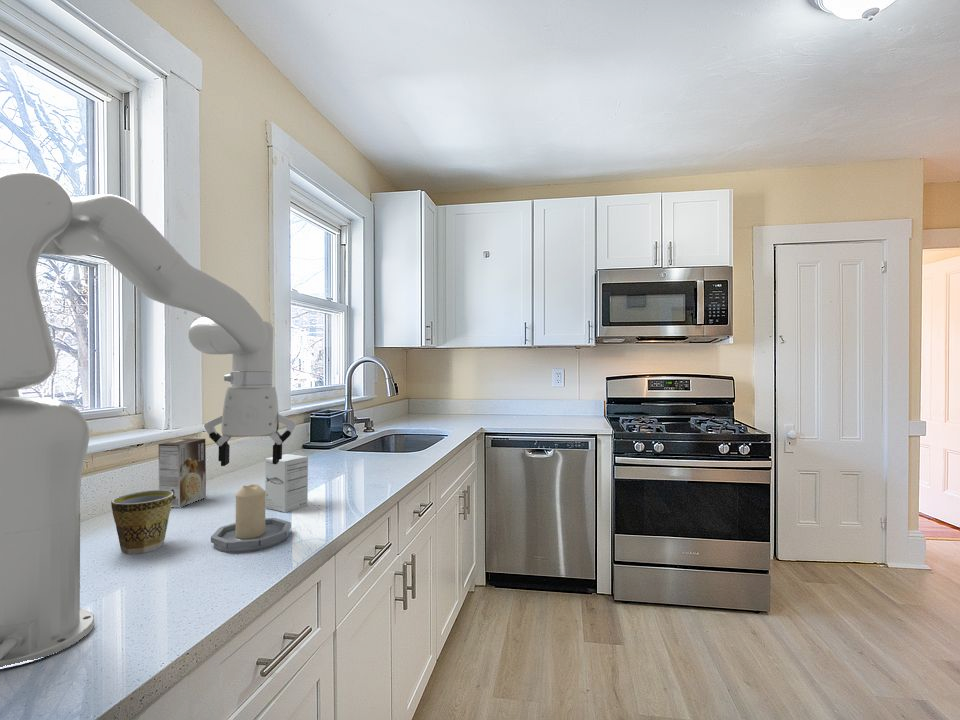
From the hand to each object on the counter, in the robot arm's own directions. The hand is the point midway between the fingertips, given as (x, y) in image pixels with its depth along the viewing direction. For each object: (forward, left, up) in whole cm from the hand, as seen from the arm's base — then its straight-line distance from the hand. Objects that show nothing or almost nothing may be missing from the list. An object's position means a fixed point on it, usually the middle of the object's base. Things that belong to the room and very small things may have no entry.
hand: (250, 464), depth 98 cm
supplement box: (+22, -3, -16) cm, 28 cm away
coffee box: (+32, +24, -16) cm, 43 cm away
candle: (0, 0, -15) cm, 15 cm away
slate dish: (0, 0, -16) cm, 16 cm away
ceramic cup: (+1, +21, -16) cm, 26 cm away
